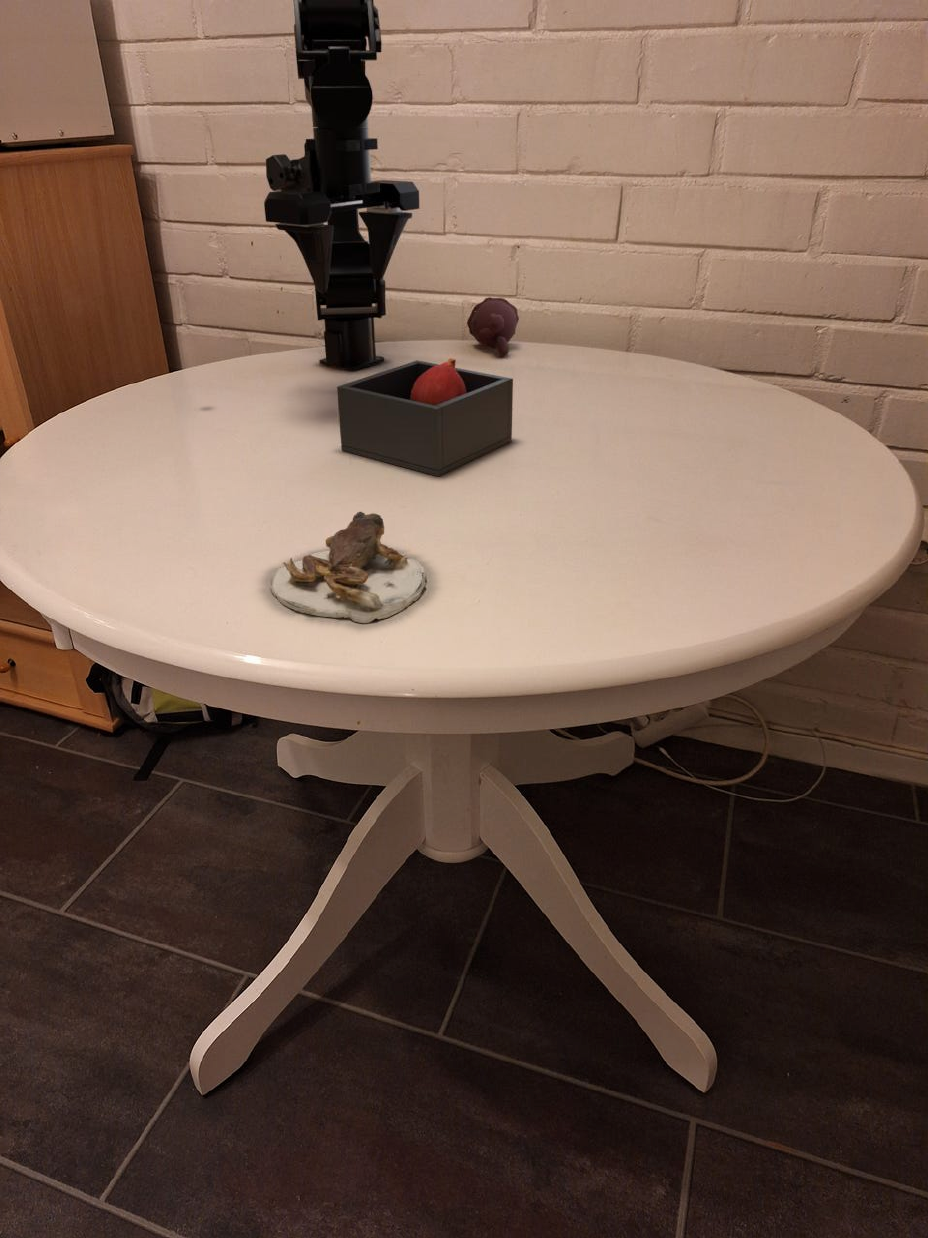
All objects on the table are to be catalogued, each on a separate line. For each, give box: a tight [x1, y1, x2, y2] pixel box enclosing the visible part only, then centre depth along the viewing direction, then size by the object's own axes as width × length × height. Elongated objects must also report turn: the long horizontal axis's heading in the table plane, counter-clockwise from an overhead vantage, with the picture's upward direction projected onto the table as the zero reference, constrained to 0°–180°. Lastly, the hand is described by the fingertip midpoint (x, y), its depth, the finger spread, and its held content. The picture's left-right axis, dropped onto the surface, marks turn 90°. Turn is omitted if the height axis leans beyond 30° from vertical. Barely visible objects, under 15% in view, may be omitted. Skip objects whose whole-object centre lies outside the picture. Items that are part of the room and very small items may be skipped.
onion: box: [410, 357, 467, 406], centre depth 94 cm, size 6×6×8 cm
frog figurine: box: [270, 511, 427, 624], centre depth 67 cm, size 12×12×4 cm
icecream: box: [466, 296, 520, 358], centre depth 129 cm, size 7×7×15 cm
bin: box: [336, 359, 514, 477], centre depth 92 cm, size 13×13×7 cm
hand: (350, 285), depth 102 cm, fingers open, 9 cm apart
